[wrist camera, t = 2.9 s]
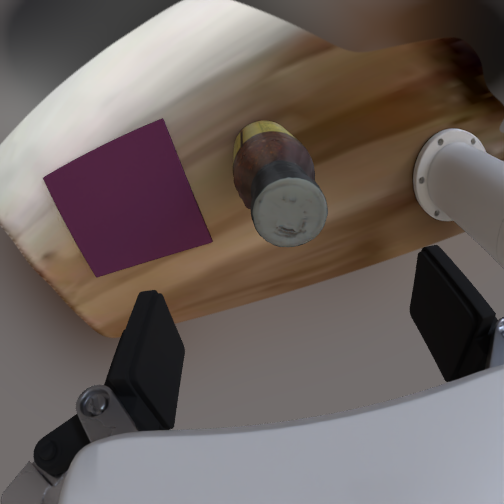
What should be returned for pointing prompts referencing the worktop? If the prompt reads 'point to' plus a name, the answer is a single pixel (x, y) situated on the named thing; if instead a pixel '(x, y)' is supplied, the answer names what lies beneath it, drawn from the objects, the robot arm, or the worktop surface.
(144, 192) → the cloth
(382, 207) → the worktop surface
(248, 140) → the sauce bottle
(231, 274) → the worktop surface
